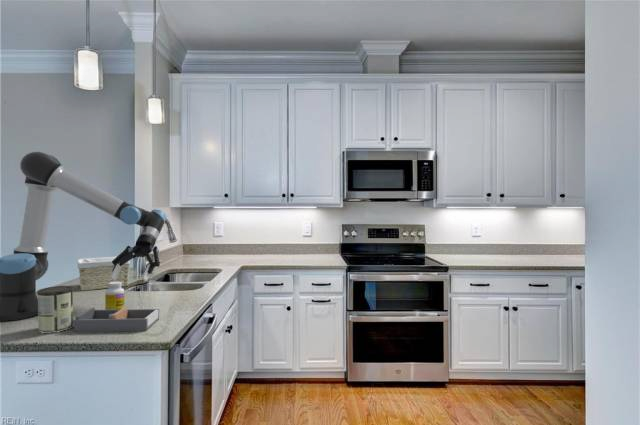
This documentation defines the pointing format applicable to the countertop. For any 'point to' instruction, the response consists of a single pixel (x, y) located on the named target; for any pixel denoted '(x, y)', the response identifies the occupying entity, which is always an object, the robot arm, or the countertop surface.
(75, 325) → the grey shallow box
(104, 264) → the storage basket
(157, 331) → the countertop surface
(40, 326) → the coffee can
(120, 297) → the supplement bottle
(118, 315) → the lane pusher
